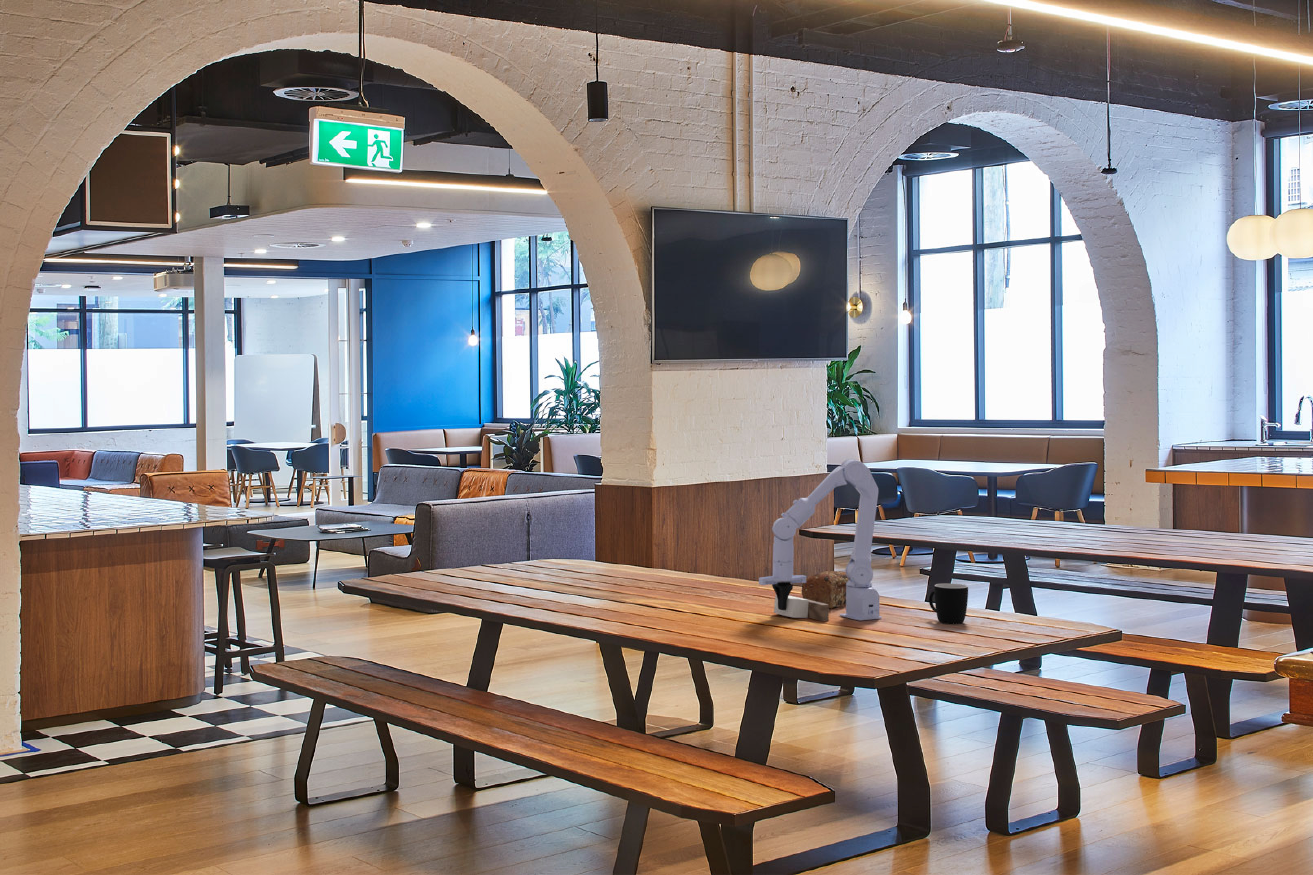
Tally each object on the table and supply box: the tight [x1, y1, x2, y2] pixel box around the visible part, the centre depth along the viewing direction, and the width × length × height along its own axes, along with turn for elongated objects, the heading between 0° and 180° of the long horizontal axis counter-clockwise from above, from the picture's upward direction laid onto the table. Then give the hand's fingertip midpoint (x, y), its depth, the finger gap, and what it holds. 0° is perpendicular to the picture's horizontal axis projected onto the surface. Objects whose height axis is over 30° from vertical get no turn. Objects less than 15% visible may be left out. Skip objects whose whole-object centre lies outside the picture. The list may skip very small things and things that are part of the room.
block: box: [773, 594, 809, 619], centre depth 360 cm, size 9×5×5 cm, turn 31°
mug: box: [928, 583, 969, 625], centre depth 351 cm, size 12×9×10 cm
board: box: [789, 594, 830, 622], centre depth 362 cm, size 22×2×4 cm, turn 27°
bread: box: [801, 570, 849, 610], centre depth 382 cm, size 19×11×10 cm, turn 144°
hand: (782, 609), depth 358 cm, fingers closed
